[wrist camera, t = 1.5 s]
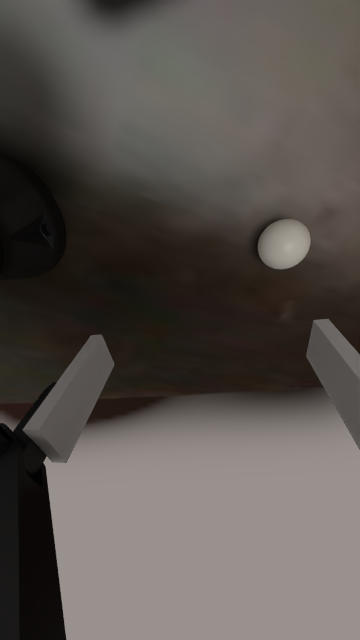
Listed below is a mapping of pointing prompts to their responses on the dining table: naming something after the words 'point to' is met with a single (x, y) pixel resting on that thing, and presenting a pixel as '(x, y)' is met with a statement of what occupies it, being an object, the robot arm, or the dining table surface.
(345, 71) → the dining table surface
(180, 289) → the dining table surface
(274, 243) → the ivory ball
